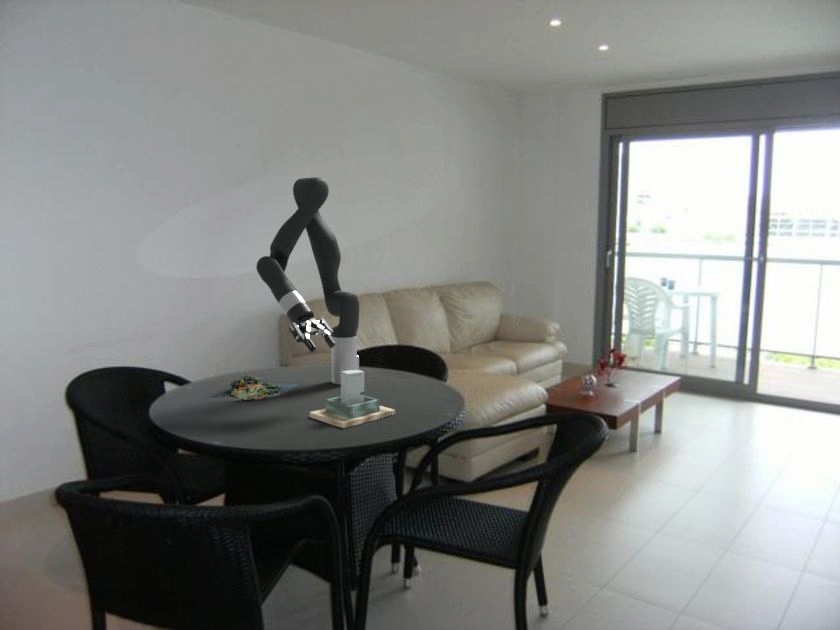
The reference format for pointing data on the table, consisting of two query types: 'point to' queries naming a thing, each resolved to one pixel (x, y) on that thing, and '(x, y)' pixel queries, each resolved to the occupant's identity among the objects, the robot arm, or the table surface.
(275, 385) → the plated dish
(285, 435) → the table surface
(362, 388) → the skincare box
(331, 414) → the socket board
